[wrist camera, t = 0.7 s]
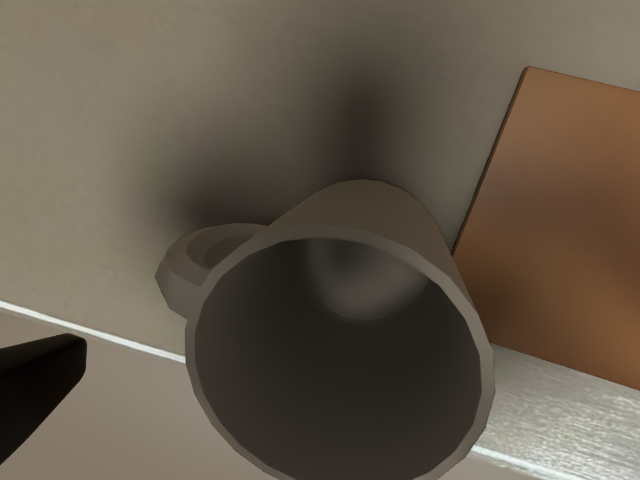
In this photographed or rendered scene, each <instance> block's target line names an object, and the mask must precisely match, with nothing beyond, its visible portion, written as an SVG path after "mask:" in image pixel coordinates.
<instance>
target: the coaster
mask: <svg viewBox="0 0 640 480" xmlns="http://www.w3.org/2000/svg"><path fill="white" fill-rule="evenodd" d="M451 256H452V258H453V260H454V263H455V265H456V267H457V269H458V271H459V274H460V276H461V278H462V280H463V282H464V285H465V287H466V289H467V291H468V293H469V296H470V298H471V300H472V302H473V304H474V307H475V309H476V311H477V313H478V316H479V318H480V321H481V323H482V326H483V328H484V331H485V334H486V336H487V339H488V341H489V342H490V343H494V344H497V345H500V346H503V347H506V348H509V349H512V350H515V351H518V352H521V353H525V354H528V355H531V356H534V357H537V358H540V359H543V360H546V361H549V362H552V363H556V364H559V365H562V366H565V367H568V368H571V369H574V370H577V371H580V372H583V373H587V374H590V375H593V376H596V377H599V378H602V379H605V380H608V381H611V382H614V383H618V384H621V385H624V386H627V387H630V388H633V389H636V390H639V391H640V92H638V91H634V90H630V89H625V88H621V87H617V86H612V85H608V84H604V83H600V82H595V81H591V80H587V79H582V78H578V77H574V76H570V75H565V74H561V73H557V72H552V71H548V70H544V69H540V68H535V67H531V66H528V67H526V68H525V69H524V71H523V74H522V77H521V79H520V82H519V84H518V87H517V89H516V92H515V94H514V97H513V99H512V102H511V104H510V107H509V109H508V112H507V114H506V117H505V120H504V122H503V125H502V127H501V130H500V132H499V135H498V137H497V140H496V142H495V145H494V147H493V150H492V152H491V155H490V157H489V160H488V163H487V165H486V168H485V170H484V173H483V175H482V178H481V180H480V183H479V185H478V188H477V190H476V193H475V195H474V198H473V200H472V203H471V206H470V208H469V211H468V213H467V216H466V218H465V221H464V223H463V226H462V228H461V231H460V233H459V236H458V238H457V241H456V243H455V246H454V249H453V251H452V254H451Z"/></svg>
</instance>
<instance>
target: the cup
mask: <svg viewBox="0 0 640 480" xmlns="http://www.w3.org/2000/svg"><path fill="white" fill-rule="evenodd" d="M155 279H156V281H157V283H158V285H159V288H160V290H161V292H162V294H163V296H164V298H165V300H166V302H167V304H168V306H169V308H170V309H171V310H173V311H174V312H176V313H178V314H179V315H181V316H182V317H184V318H185V319H187V320H188V321H187V324H186V328H185V356H186V366H187V369H188V372H189V376H190V380H191V383H192V387H193V390H194V394H195V396H196V398H197V399H198V401H199V403H200V405H201V407H202V408H203V410H204V412H205V414H206V415H207V417H208V419H209V421H210V422H211V424H212V425H213V426H214V428H215V429H216V430H217V431H218V432H219V433H220V434H221V435H222V437H223V438H224V439H225V440H226V441H227V442H228V443H229V444H230V445H231V446H232V447H233V449H234V450H235V451H236V452H238V453H239V454H240V455H242V456H243V457H244V458H246V459H247V460H249V461H250V462H251V463H252V464H254V465H255V466H257V467H258V468H259V469H261V470H262V471H263V472H265V473H267V474H269V475H271V476H273V477H275V478H277V479H279V480H437V479H439V478H440V477H441V476H442V475H444V474H445V473H446V472H448V471H449V470H450V469H451V468H453V467H454V466H455V465H456V464H458V463H459V462H460V461H461V460H463V459H464V458H465V457H466V456H467V454H468V453H469V451H470V450H471V448H472V447H473V445H474V444H475V442H476V441H477V440H478V438H479V437H480V435H481V434H482V432H483V431H484V429H485V428H486V424H487V421H488V417H489V413H490V410H491V406H492V403H493V399H494V395H495V378H494V359H493V351H492V349H491V346H490V344H489V341H488V339H487V336H486V334H485V331H484V328H483V326H482V323H481V321H480V318H479V316H478V313H477V311H476V309H475V307H474V304H473V302H472V300H471V298H470V296H469V293H468V291H467V289H466V287H465V285H464V282H463V280H462V278H461V276H460V274H459V271H458V269H457V267H456V265H455V263H454V260H453V258H452V256H451V254H450V252H449V249H448V247H447V245H446V243H445V241H444V238H443V236H442V234H441V232H440V230H439V227H438V225H437V223H436V222H435V221H434V219H433V218H432V217H431V215H430V214H429V213H428V211H427V210H426V209H425V208H424V206H423V205H422V204H421V203H420V202H419V201H417V200H416V199H415V198H413V197H412V196H411V195H409V194H408V193H407V192H405V191H404V190H402V189H400V188H397V187H395V186H392V185H390V184H387V183H385V182H382V181H374V180H365V179H357V180H350V181H343V182H338V183H335V184H333V185H331V186H328V187H326V188H324V189H322V190H319V191H317V192H315V193H314V194H312V195H311V196H310V197H308V198H307V199H305V200H304V201H302V202H301V203H300V204H298V205H297V206H295V207H294V208H293V209H291V210H290V211H288V212H287V213H286V214H284V215H283V216H281V217H280V218H279V219H277V220H276V221H274V222H273V223H272V224H270V225H269V226H264V225H258V224H247V223H235V224H226V225H218V226H211V227H208V228H204V229H200V230H197V231H194V232H192V233H190V234H188V235H186V236H184V237H182V238H180V239H179V240H178V241H176V242H175V243H174V244H173V245H172V246H171V247H169V249H168V250H167V252H166V254H165V255H164V257H163V259H162V260H161V262H160V264H159V267H158V269H157V272H156V275H155Z"/></svg>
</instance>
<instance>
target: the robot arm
mask: <svg viewBox="0 0 640 480" xmlns="http://www.w3.org/2000/svg"><path fill="white" fill-rule="evenodd" d="M86 355H87V343H86V340H85V339H84V338H81V337H79V336H76V335H73V334H69V333H65V334H61V335H56V336H52V337H48V338H44V339H40V340H35V341H31V342H27V343H22V344H19V345H14V346H10V347H5V348H1V349H0V465H1V464H2V463H3V462H4V461H5V460H6V459H7V458H8V457H9V456H10V455H11V454H12V453H13V452H15V451H16V449H18V448H19V446H21V445H22V443H24V442H25V440H26V439H27V438H28V437H29V436H30V435H31V434H32V433H33V432H34V431H35V430H36V429H37V428H38V426H39V425H40V424H41V423H42V422H43V421H44V420H45V419H46V417H48V415H49V414H50V413H51V412H52V411H53V410H54V409H55V408H56V407H57V405H58V404H59V403H60V402H61V401H62V400H63V399H64V398H65V397H66V395H67V394H68V393H69V392H70V391H71V390H72V389H73V388H74V387H75V386H76V384H77V383H78V382H79V381H80V380H81V378H82V376H83V375H84V372H85V369H86Z"/></svg>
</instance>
